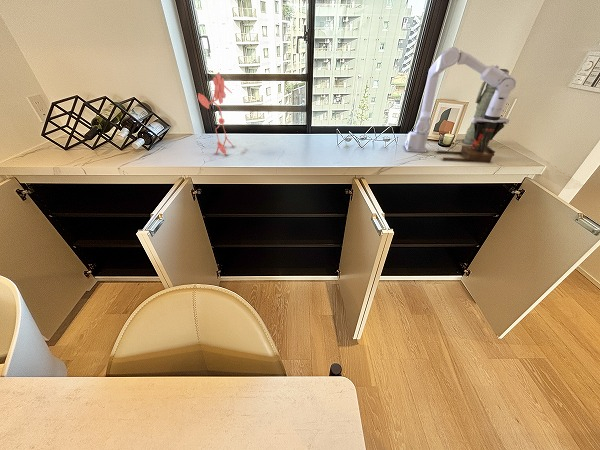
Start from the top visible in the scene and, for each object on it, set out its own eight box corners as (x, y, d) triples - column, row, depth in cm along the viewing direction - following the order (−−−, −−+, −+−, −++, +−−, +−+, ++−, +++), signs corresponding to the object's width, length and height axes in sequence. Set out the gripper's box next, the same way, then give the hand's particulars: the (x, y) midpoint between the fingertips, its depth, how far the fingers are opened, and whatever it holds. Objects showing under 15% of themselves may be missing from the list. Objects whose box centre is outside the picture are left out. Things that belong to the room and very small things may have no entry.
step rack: (443, 160, 123) (447, 149, 120) (437, 152, 131) (440, 141, 128) (490, 162, 120) (496, 151, 117) (481, 154, 129) (486, 143, 125)
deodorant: (487, 151, 119) (502, 117, 110) (473, 150, 120) (487, 116, 111) (483, 146, 124) (497, 113, 115) (469, 145, 125) (483, 113, 116)
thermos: (487, 145, 139) (520, 70, 118) (464, 145, 139) (494, 70, 118) (479, 140, 146) (509, 68, 125) (457, 139, 146) (484, 68, 125)
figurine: (207, 160, 123) (188, 76, 102) (227, 142, 143) (214, 69, 122) (238, 162, 121) (225, 77, 100) (253, 143, 142) (245, 69, 121)
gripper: (481, 109, 109) (469, 141, 117) (518, 110, 108) (503, 142, 116) (475, 105, 115) (463, 136, 123) (510, 106, 113) (495, 137, 121)
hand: (482, 139), depth 120 cm, fingers closed on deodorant, 6 cm apart
